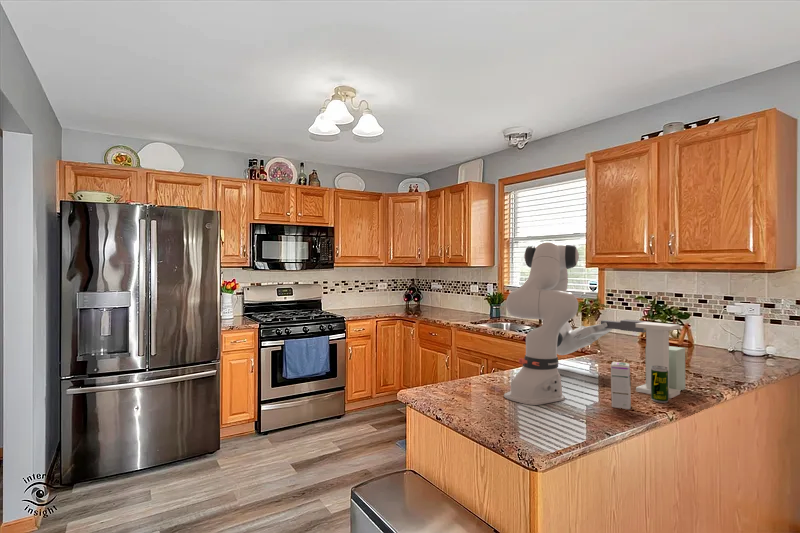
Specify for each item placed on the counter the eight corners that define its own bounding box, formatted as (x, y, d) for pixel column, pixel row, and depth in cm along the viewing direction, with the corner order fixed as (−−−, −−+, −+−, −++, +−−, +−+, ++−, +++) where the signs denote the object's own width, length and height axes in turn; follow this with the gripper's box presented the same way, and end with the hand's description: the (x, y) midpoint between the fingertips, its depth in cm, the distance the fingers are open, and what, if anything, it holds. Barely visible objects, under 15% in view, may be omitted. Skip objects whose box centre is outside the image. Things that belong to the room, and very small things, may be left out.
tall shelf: (670, 398, 157) (670, 326, 157) (635, 391, 166) (635, 323, 167) (680, 394, 163) (679, 324, 163) (645, 387, 172) (645, 321, 172)
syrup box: (630, 409, 144) (630, 366, 144) (610, 407, 147) (610, 364, 147) (630, 405, 149) (630, 362, 149) (611, 402, 152) (611, 361, 152)
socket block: (676, 392, 164) (676, 350, 165) (645, 386, 173) (645, 346, 173) (685, 388, 170) (685, 348, 170) (655, 383, 179) (654, 344, 179)
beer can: (650, 398, 158) (650, 364, 158) (667, 399, 155) (667, 366, 155) (651, 402, 153) (651, 367, 153) (669, 404, 150) (669, 369, 151)
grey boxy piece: (599, 327, 190) (599, 318, 190) (605, 326, 193) (605, 317, 193) (648, 333, 174) (648, 323, 174) (654, 331, 178) (654, 321, 178)
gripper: (568, 331, 193) (594, 318, 184) (591, 327, 206) (617, 315, 196) (575, 345, 191) (601, 332, 181) (598, 340, 203) (624, 328, 194)
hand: (610, 323), depth 189 cm, fingers closed on grey boxy piece, 3 cm apart
